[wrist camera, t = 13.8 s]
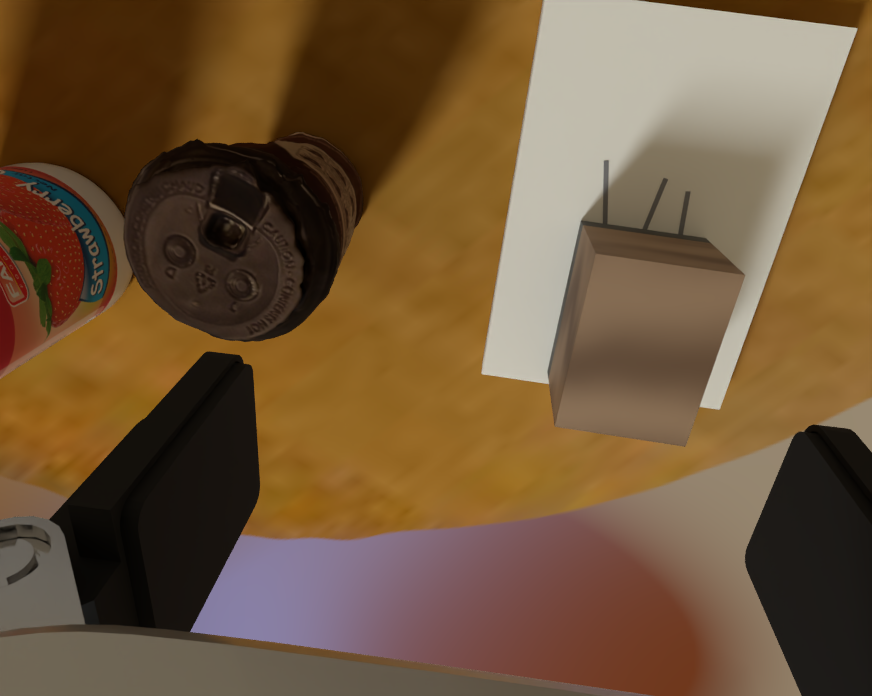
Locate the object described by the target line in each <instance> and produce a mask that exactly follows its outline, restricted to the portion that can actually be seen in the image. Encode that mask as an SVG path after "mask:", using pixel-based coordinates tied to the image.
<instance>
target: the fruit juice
mask: <svg viewBox="0 0 872 696" xmlns="http://www.w3.org/2000/svg"><path fill="white" fill-rule="evenodd" d="M123 234H124V217H123V216H122V214H121V212H120V211H119V209H118V208H117V206H116V205H115V204H114V202H113V201H112V200H111V199H110V198H109V197H108V195H107V194H106V193H105V192H104V191H103V190H101V189H100V188H99V187H98V186H97V185H96V184H94V183H93V182H92V181H90V180H89V179H87V178H85V177H84V176H82V175H80V174H78V173H76V172H74V171H72V170H70V169H67V168H64V167H61V166H57V165H52V164H47V163H19V164H13V165H9V166H4V167H0V378H2V377H4V376H5V375H7V374H8V373H10V372H11V371H13V370H14V369H16V368H18V367H19V366H21V365H22V364H24V363H25V362H27V361H28V360H30V359H32V358H33V357H35V356H36V355H38V354H39V353H41V352H42V351H44V350H45V349H47V348H49V347H50V346H52V345H53V344H55V343H56V342H58V341H59V340H61V339H63V338H64V337H66V336H67V335H69V334H70V333H72V332H73V331H75V330H76V329H78V328H80V327H81V326H83V325H84V324H86V323H87V322H89V321H90V320H92V319H93V318H95V317H97V316H98V315H100V314H101V313H103V312H104V311H106V310H107V309H109V308H110V307H111V306H112V305H113V304H114V303H115V302H116V301H117V300H118V299H119V298H120V297H121V296H122V294H123V293H124V292H125V290H126V288H127V286H128V285H129V282H130V280H131V277H132V274H133V271H132V269H131V267H130V264H129V262H128V260H127V257H126V251H125V246H124V239H123Z"/></svg>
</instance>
